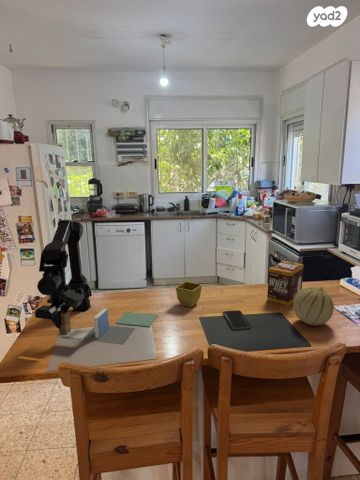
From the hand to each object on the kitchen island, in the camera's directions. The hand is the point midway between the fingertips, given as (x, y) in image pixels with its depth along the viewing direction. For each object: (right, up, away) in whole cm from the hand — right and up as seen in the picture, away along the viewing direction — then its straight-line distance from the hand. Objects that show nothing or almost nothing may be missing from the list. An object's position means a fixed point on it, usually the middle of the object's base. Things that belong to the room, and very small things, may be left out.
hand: (61, 326), depth 117 cm
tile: (+12, -5, +9) cm, 16 cm away
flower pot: (+45, +1, +34) cm, 57 cm away
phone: (+64, -3, +18) cm, 67 cm away
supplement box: (+90, +3, +40) cm, 99 cm away
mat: (+15, -5, +8) cm, 18 cm away
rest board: (+24, -3, +19) cm, 31 cm away
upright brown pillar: (+4, -3, 0) cm, 5 cm away
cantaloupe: (+93, -3, +15) cm, 94 cm away
